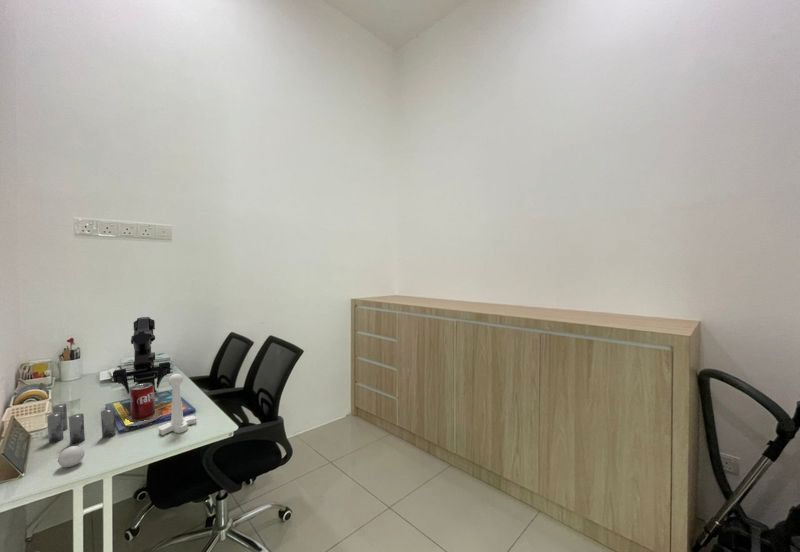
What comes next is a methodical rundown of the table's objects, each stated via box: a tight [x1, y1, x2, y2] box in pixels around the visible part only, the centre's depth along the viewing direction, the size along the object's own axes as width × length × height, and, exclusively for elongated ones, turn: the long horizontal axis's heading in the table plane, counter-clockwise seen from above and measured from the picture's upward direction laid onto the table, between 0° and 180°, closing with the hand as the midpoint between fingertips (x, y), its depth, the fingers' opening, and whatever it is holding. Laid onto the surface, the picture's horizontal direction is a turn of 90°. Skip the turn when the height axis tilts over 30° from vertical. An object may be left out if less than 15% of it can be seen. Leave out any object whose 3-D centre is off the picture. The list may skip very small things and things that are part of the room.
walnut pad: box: [125, 409, 164, 422], centre depth 125 cm, size 12×12×1 cm
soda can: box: [129, 383, 156, 420], centre depth 125 cm, size 7×7×12 cm
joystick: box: [158, 373, 198, 436], centre depth 117 cm, size 11×8×20 cm
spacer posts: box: [46, 403, 117, 446], centre depth 112 cm, size 9×25×9 cm, turn 79°
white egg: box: [55, 445, 85, 468], centre depth 96 cm, size 8×6×6 cm
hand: (143, 390), depth 130 cm, fingers open, 9 cm apart
